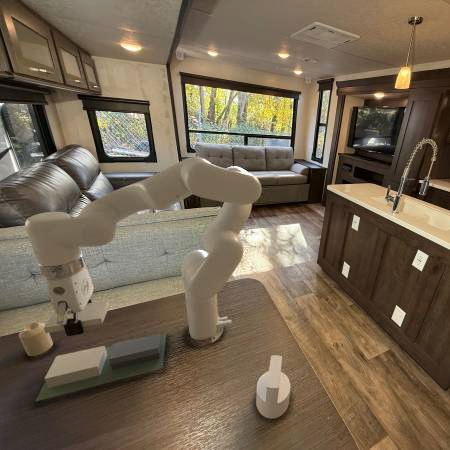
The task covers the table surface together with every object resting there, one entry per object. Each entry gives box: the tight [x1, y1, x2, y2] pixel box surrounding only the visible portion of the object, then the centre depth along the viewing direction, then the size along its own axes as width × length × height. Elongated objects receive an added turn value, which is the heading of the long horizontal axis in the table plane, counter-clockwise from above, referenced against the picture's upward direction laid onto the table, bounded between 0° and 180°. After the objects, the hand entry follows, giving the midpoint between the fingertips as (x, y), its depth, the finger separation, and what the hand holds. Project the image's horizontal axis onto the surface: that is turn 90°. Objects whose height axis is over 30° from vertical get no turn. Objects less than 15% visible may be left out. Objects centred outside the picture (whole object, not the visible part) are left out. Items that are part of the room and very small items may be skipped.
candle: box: [18, 322, 54, 357], centre depth 73 cm, size 6×6×10 cm
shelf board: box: [35, 334, 167, 403], centre depth 72 cm, size 28×13×2 cm, turn 113°
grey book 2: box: [111, 340, 162, 370], centre depth 74 cm, size 12×6×2 cm, turn 113°
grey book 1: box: [109, 333, 161, 365], centre depth 73 cm, size 12×6×2 cm, turn 113°
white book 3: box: [47, 351, 107, 388], centre depth 69 cm, size 11×7×2 cm, turn 113°
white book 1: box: [44, 300, 110, 334], centre depth 63 cm, size 11×7×2 cm, turn 113°
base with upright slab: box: [255, 354, 291, 420], centre depth 65 cm, size 9×9×12 cm
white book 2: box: [44, 345, 106, 383], centre depth 68 cm, size 11×7×2 cm, turn 113°
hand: (81, 322), depth 64 cm, fingers closed on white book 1, 7 cm apart
